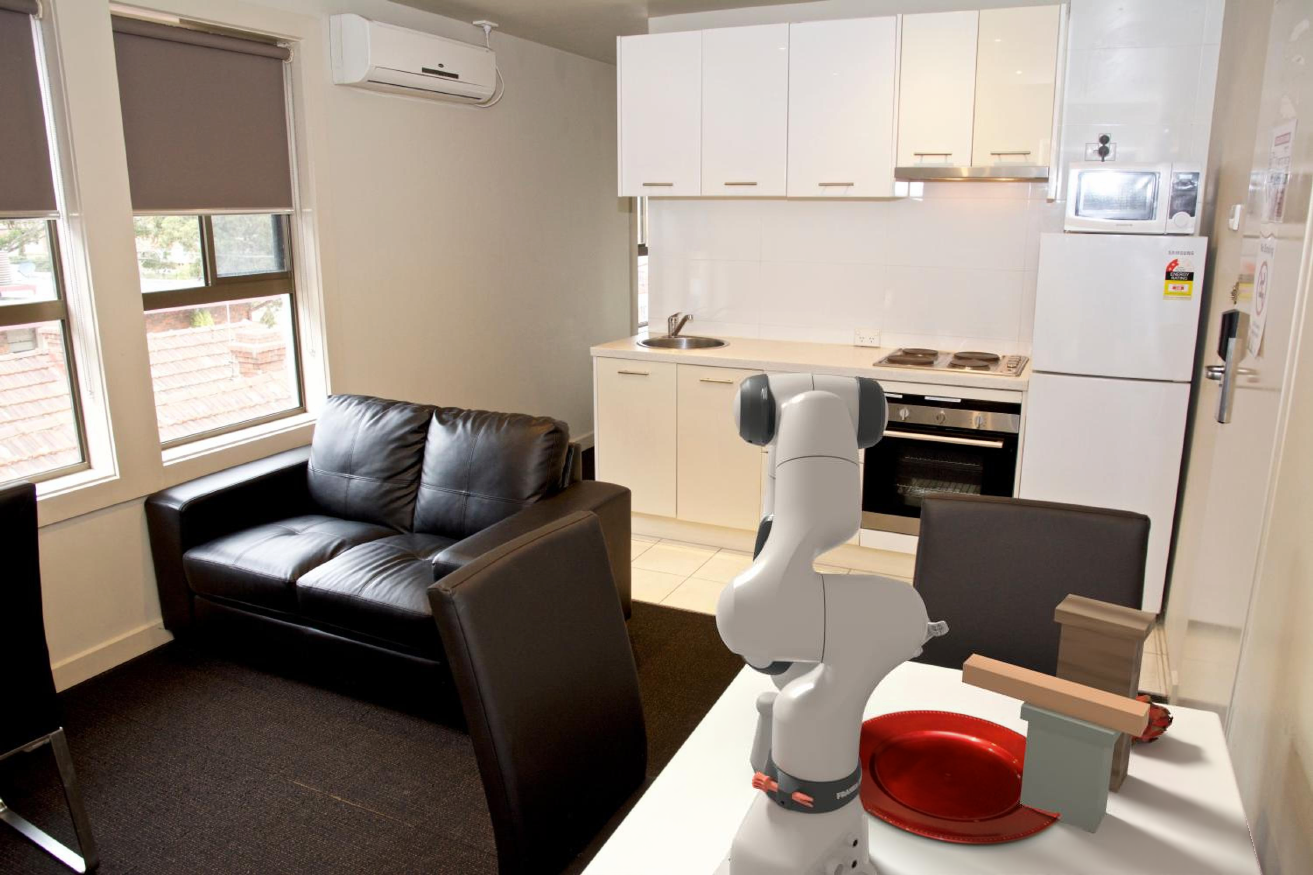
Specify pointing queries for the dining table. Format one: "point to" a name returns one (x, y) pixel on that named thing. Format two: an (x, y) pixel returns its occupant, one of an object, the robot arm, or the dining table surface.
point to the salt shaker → (763, 731)
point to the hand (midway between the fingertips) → (932, 637)
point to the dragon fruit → (1154, 721)
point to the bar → (1057, 694)
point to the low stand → (1067, 766)
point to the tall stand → (1104, 656)
